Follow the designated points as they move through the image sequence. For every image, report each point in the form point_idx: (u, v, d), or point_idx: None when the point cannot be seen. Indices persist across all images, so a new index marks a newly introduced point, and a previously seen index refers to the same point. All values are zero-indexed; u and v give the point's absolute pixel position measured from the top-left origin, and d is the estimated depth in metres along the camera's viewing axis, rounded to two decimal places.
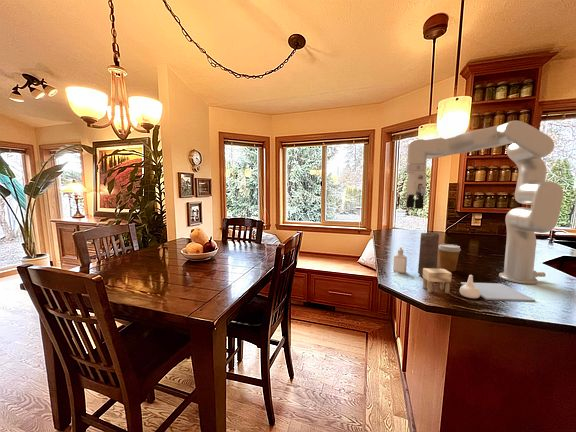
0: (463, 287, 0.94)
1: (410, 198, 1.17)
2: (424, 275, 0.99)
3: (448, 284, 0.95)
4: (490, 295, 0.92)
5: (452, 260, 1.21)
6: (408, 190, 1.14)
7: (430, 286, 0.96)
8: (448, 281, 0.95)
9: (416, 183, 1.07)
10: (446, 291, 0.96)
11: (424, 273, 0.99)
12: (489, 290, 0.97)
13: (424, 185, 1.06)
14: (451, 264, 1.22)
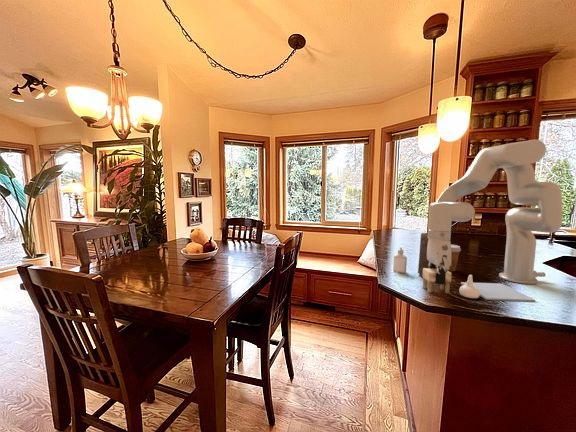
0: (463, 287, 0.94)
1: None
2: (424, 275, 0.99)
3: (448, 284, 0.95)
4: (490, 295, 0.92)
5: (452, 260, 1.21)
6: (429, 257, 0.99)
7: (430, 286, 0.96)
8: (448, 281, 0.95)
9: (440, 254, 0.92)
10: (446, 291, 0.96)
11: (424, 273, 0.99)
12: (489, 290, 0.97)
13: (449, 257, 0.92)
14: (451, 264, 1.22)
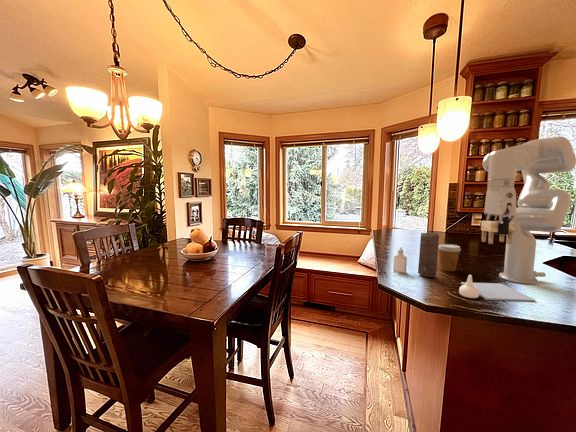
0: (462, 287, 0.94)
1: None
2: (483, 227, 0.97)
3: (511, 234, 0.93)
4: (490, 295, 0.92)
5: (452, 260, 1.21)
6: (488, 209, 0.97)
7: (492, 237, 0.93)
8: (511, 231, 0.92)
9: (504, 202, 0.90)
10: (508, 242, 0.93)
11: (483, 225, 0.97)
12: (489, 290, 0.97)
13: (514, 204, 0.89)
14: (451, 264, 1.22)
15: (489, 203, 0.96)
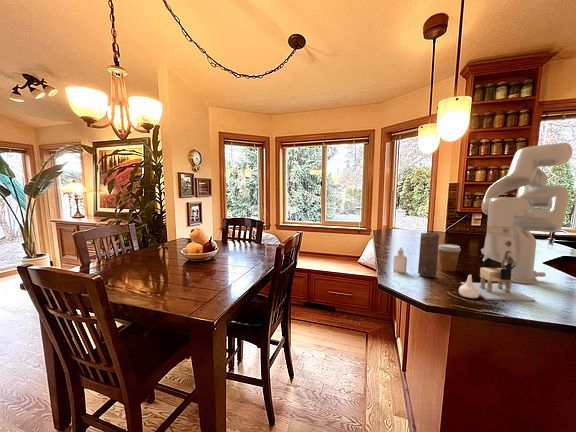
0: (462, 287, 0.94)
1: (487, 261, 1.01)
2: (482, 274, 0.98)
3: (509, 284, 0.94)
4: (490, 295, 0.92)
5: (452, 260, 1.21)
6: (488, 253, 0.98)
7: (490, 286, 0.95)
8: (509, 281, 0.94)
9: (503, 250, 0.91)
10: (507, 291, 0.95)
11: (482, 272, 0.98)
12: None
13: (513, 253, 0.91)
14: (451, 264, 1.22)
15: (488, 248, 0.97)
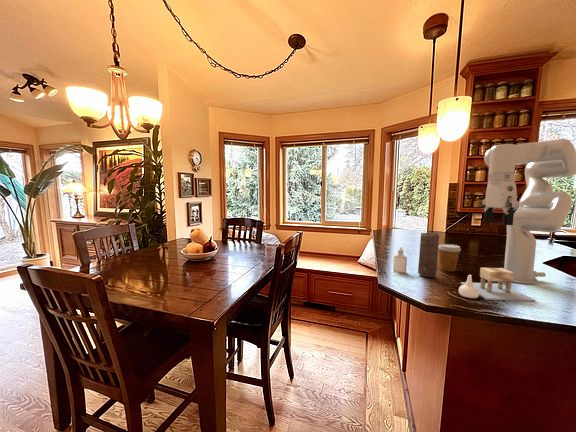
0: (462, 287, 0.94)
1: (489, 211, 1.01)
2: (482, 274, 0.98)
3: (509, 284, 0.94)
4: (490, 295, 0.92)
5: (452, 260, 1.21)
6: (489, 202, 0.98)
7: (490, 286, 0.95)
8: (509, 281, 0.94)
9: (505, 195, 0.91)
10: (507, 291, 0.95)
11: (482, 272, 0.98)
12: None
13: (515, 198, 0.91)
14: (451, 264, 1.22)
15: (490, 197, 0.98)
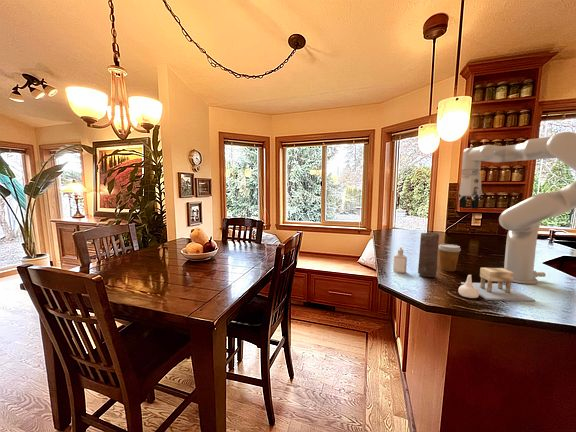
0: (462, 287, 0.94)
1: (462, 199, 1.32)
2: (482, 274, 0.98)
3: (509, 284, 0.94)
4: (490, 295, 0.92)
5: (452, 260, 1.21)
6: (462, 192, 1.29)
7: (490, 286, 0.95)
8: (509, 281, 0.94)
9: (472, 186, 1.22)
10: (507, 291, 0.95)
11: (482, 272, 0.98)
12: None
13: (479, 188, 1.21)
14: (451, 264, 1.22)
15: (462, 187, 1.28)
